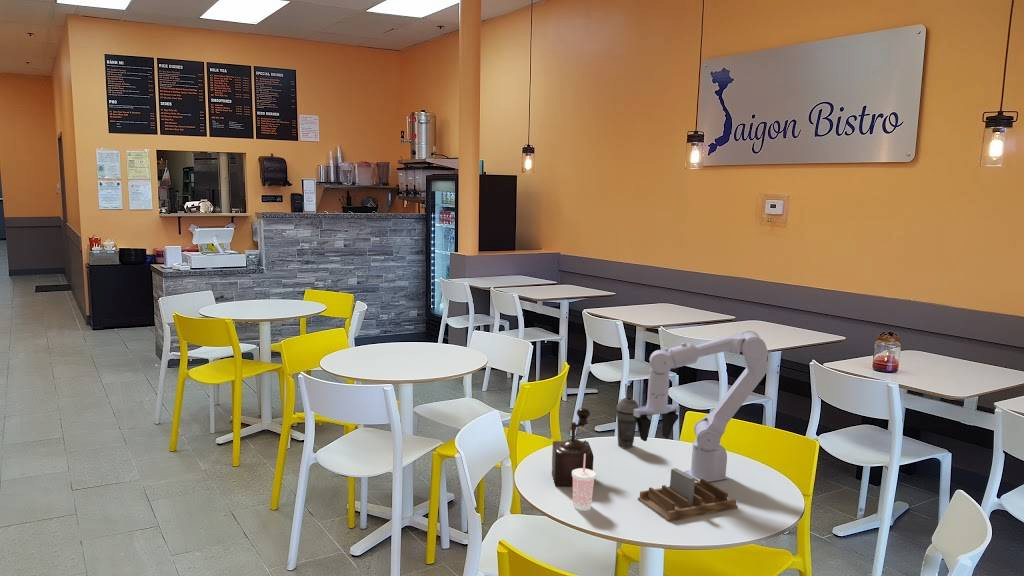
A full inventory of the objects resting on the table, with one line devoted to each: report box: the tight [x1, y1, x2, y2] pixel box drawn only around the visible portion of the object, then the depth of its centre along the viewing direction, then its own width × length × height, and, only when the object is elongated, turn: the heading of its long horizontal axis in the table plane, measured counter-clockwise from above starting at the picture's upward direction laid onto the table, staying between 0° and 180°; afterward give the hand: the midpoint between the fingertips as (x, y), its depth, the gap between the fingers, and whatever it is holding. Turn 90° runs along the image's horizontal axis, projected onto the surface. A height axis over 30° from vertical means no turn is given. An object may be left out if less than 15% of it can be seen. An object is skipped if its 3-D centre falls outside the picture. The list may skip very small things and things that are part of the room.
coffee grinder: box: [551, 407, 594, 488], centre depth 200 cm, size 16×11×18 cm
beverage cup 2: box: [615, 383, 640, 449], centre depth 225 cm, size 7×7×20 cm
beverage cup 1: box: [572, 454, 597, 511], centre depth 181 cm, size 6×6×14 cm
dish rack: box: [637, 479, 738, 522], centre depth 186 cm, size 22×13×4 cm, turn 115°
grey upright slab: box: [669, 467, 696, 507], centre depth 185 cm, size 2×7×8 cm, turn 30°
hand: (654, 438), depth 206 cm, fingers open, 7 cm apart
